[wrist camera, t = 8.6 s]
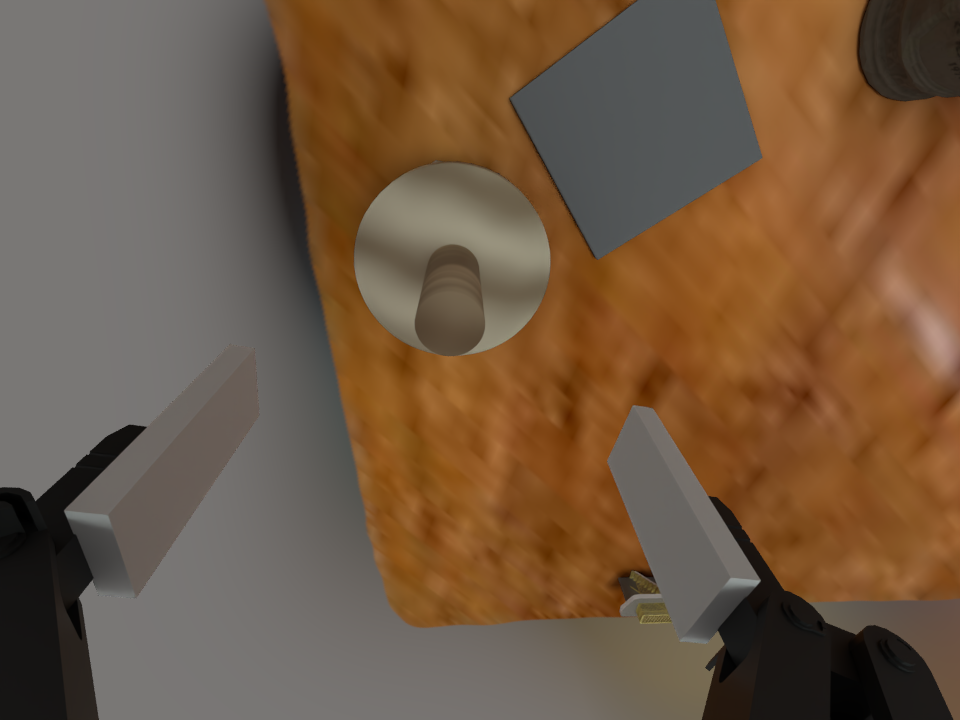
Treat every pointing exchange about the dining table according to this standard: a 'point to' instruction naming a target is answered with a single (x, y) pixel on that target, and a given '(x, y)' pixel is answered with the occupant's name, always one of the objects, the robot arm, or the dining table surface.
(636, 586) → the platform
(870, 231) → the dining table surface
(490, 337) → the lid
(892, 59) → the beer stein
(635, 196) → the mat
